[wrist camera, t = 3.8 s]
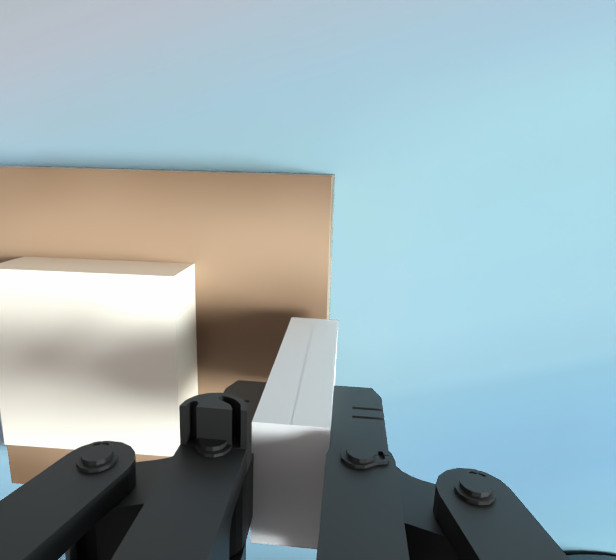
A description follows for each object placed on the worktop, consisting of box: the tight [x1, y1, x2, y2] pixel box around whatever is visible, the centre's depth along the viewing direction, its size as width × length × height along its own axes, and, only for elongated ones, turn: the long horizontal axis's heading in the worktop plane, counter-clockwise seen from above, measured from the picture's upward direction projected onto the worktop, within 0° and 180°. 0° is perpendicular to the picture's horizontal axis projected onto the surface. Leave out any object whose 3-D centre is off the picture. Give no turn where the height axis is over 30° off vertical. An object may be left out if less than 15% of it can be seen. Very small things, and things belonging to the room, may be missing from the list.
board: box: [0, 166, 335, 484], centre depth 19 cm, size 12×12×3 cm
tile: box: [0, 256, 198, 456], centre depth 16 cm, size 6×6×2 cm
